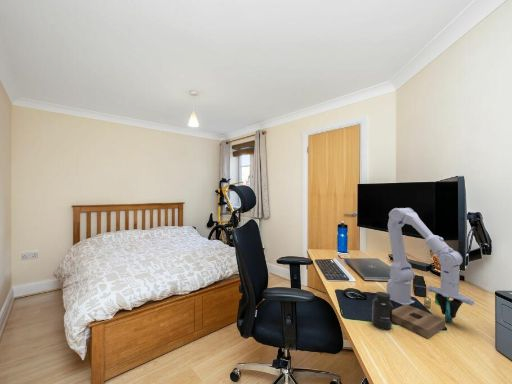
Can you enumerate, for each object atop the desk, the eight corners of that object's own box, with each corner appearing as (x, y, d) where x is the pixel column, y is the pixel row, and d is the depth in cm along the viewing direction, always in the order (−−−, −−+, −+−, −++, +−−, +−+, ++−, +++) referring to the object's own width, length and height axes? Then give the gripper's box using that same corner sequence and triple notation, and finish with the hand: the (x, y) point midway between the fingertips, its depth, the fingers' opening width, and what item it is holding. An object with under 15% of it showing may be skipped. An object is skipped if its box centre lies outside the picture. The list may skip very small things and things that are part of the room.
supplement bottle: (384, 332, 85) (385, 299, 85) (368, 322, 91) (368, 292, 91) (396, 327, 89) (396, 296, 88) (379, 318, 95) (379, 289, 95)
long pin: (443, 319, 94) (444, 300, 93) (446, 318, 95) (446, 298, 95) (451, 322, 91) (451, 302, 91) (453, 321, 93) (454, 301, 93)
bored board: (387, 319, 94) (388, 312, 94) (406, 310, 101) (406, 303, 101) (427, 338, 82) (427, 330, 82) (445, 327, 89) (445, 319, 89)
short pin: (422, 306, 105) (423, 297, 105) (425, 305, 106) (425, 296, 106) (429, 309, 103) (429, 300, 103) (431, 307, 104) (431, 298, 104)
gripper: (424, 277, 97) (423, 309, 97) (469, 290, 85) (468, 327, 85) (432, 274, 101) (431, 305, 101) (476, 286, 88) (475, 322, 88)
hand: (448, 315), depth 93 cm, fingers closed on long pin, 2 cm apart
